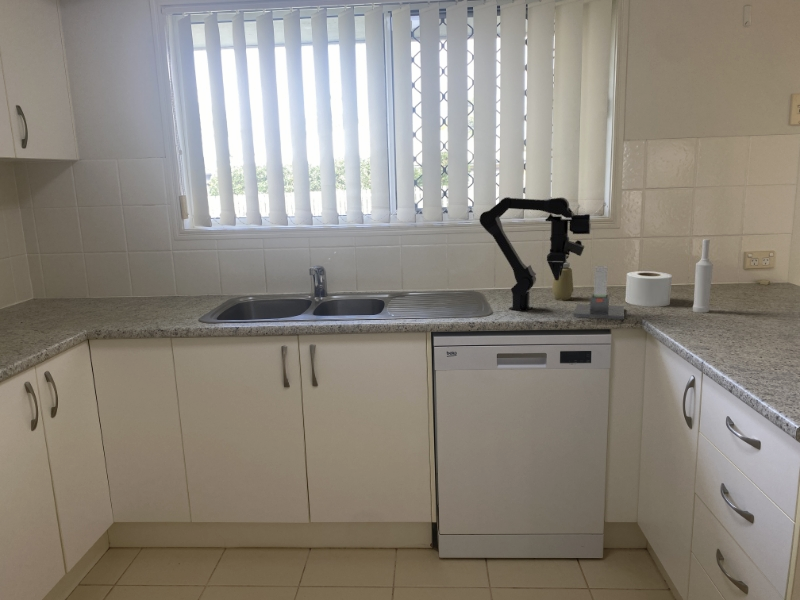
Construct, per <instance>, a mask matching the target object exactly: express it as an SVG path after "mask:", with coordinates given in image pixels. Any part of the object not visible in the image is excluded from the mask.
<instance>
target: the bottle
mask: <svg viewBox="0 0 800 600" xmlns="http://www.w3.org/2000/svg"><path fill="white" fill-rule="evenodd" d="M701 250H702V251H701V258H700V260H699V261H698V262H696V263H695V272H694V273H695V275H694V276H695V277H694V295H693V296H694V297H693V305H692V311H693V312H695V313H700V314H701V313H702V314H704V313H706V314H707V313H709V311H710V297H711V296H710V295H711V288H712V287H711V285H712V277H713V269H714V268H713V266H714V265H713V264H714V263H712V262H711V261H710V259H709V252H710V238H704V239H702V249H701Z"/></svg>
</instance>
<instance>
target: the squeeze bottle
mask: <svg viewBox="0 0 800 600" xmlns="http://www.w3.org/2000/svg"><path fill="white" fill-rule="evenodd" d="M567 260H568V259H566V262H565V263H564V265H563V269H562V274H561V276H559V280H555V278H554V277H552V288H551V291H552V294H553V297H554V299H555V300H558V301H567V300H570V299H571V297H572V294H573V292H574V281H573V269H572V268H571V267H570V262H569V261H567Z"/></svg>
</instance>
